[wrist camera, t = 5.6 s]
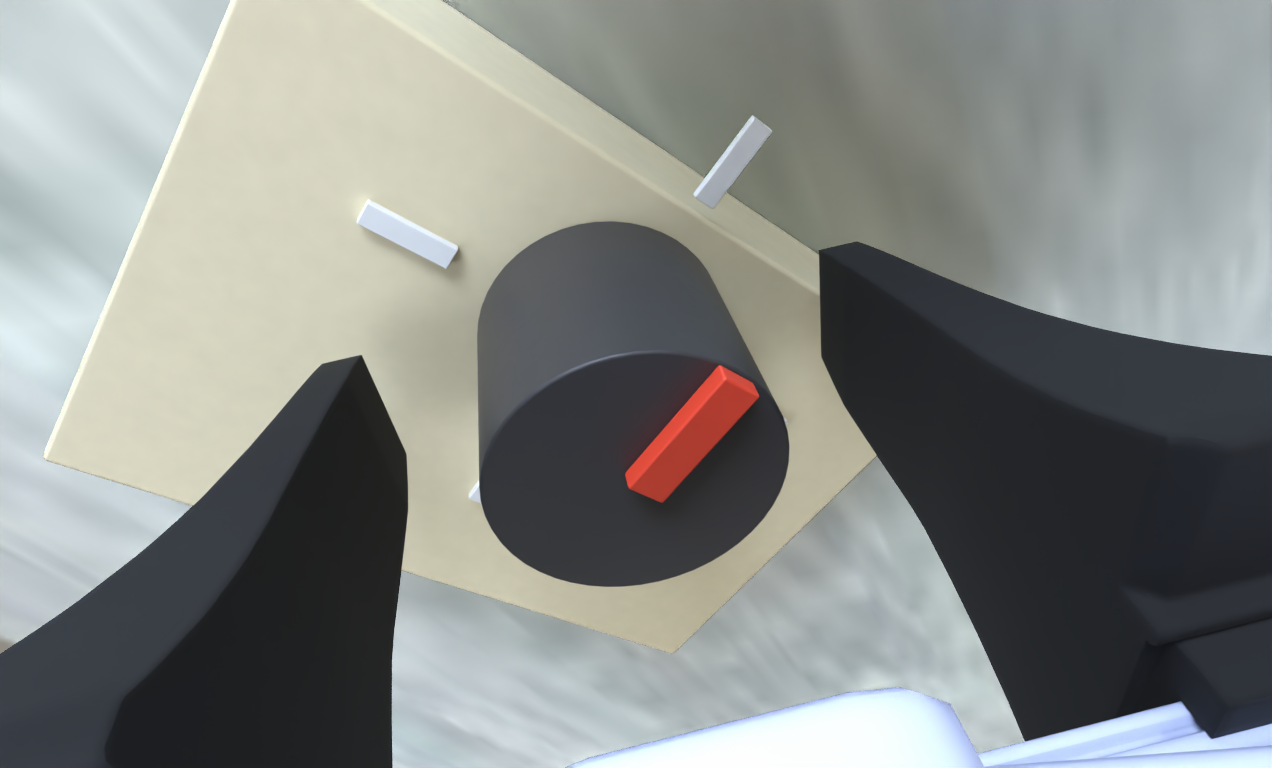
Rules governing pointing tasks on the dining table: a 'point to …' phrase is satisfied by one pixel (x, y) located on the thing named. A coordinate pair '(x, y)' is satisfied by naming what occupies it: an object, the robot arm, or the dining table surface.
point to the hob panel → (417, 280)
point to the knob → (620, 410)
